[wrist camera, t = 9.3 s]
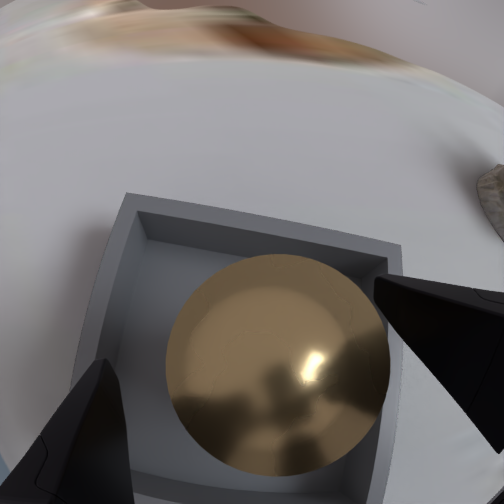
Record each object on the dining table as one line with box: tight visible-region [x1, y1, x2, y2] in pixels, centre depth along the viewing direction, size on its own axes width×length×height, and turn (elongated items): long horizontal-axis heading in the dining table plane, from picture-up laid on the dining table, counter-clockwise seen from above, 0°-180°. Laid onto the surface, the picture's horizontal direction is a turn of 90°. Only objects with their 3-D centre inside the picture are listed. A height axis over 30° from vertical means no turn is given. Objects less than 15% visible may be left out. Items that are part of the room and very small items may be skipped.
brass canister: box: [166, 254, 391, 477], centre depth 11 cm, size 5×5×11 cm
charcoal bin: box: [70, 193, 403, 504], centre depth 15 cm, size 16×16×4 cm
